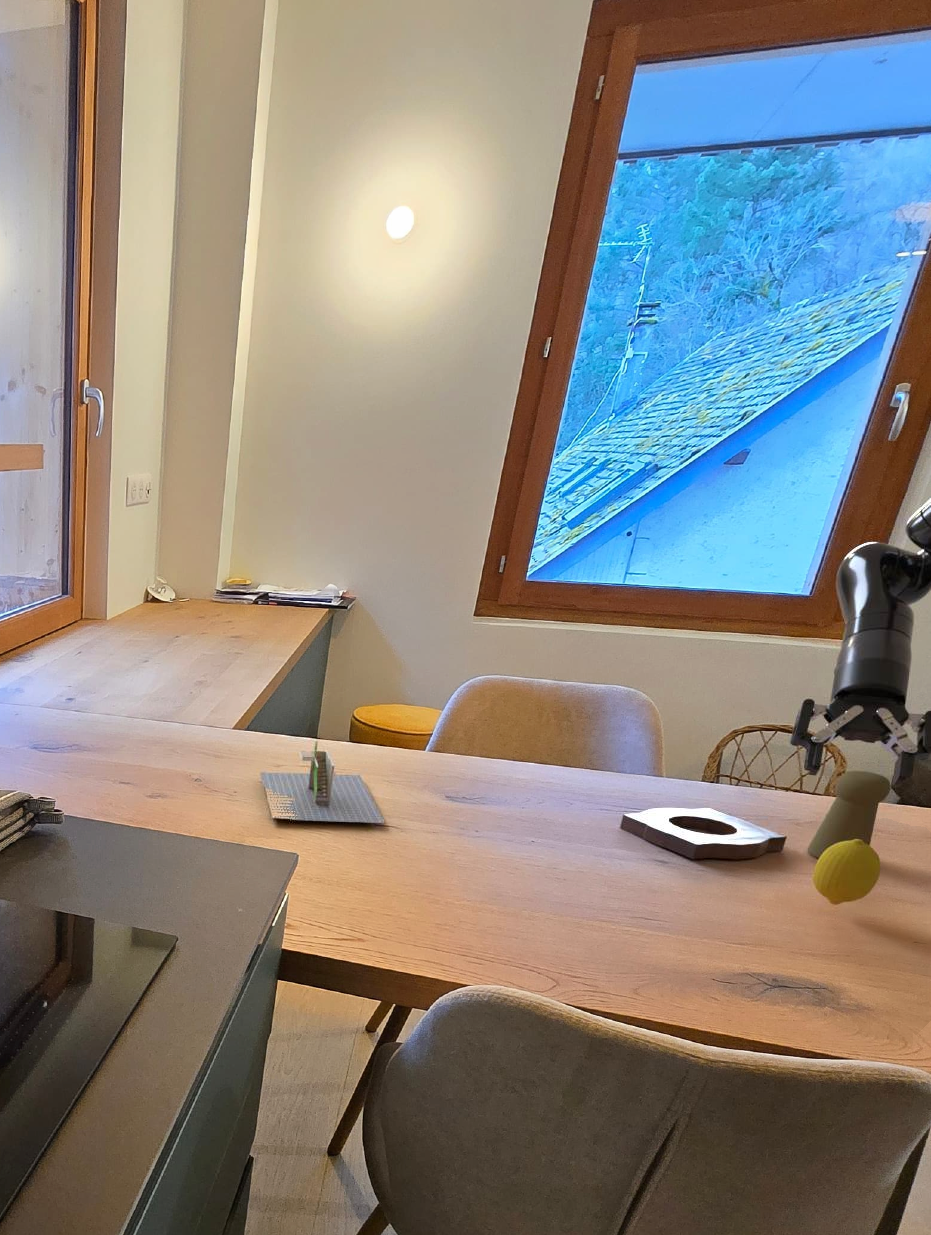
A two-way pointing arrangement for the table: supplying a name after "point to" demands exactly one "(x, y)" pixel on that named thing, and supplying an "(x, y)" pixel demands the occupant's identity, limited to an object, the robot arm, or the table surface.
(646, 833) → the holder
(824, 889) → the lemon
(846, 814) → the cork
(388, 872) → the table surface
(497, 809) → the table surface
